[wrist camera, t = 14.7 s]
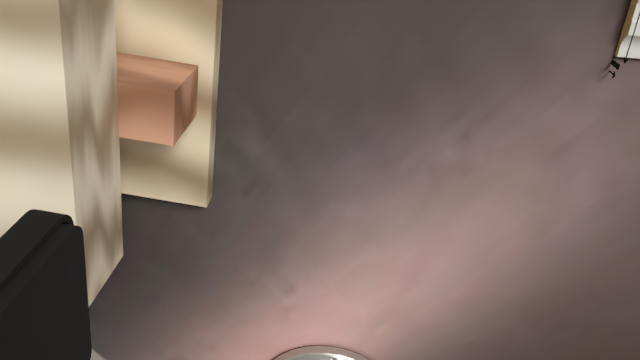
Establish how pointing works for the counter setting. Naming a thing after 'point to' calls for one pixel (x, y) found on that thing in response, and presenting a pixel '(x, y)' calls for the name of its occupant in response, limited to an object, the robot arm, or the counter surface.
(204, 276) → the counter surface
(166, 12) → the ridge stand
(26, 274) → the robot arm
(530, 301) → the counter surface
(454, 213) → the counter surface
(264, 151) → the counter surface
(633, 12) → the baseboard molding
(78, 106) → the birch bar
